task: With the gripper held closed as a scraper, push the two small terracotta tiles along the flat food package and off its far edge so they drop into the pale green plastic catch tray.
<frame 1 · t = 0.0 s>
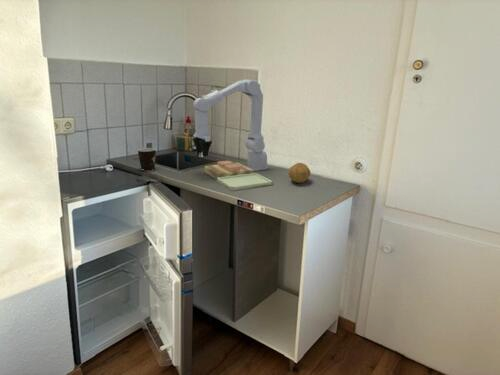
hand: (202, 154, 179), 10 cm above the counter, fingers open, 7 cm apart
tile front: (231, 169, 180), point 3 cm above the counter, touching flat food package
tray: (244, 183, 170), on the counter
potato: (298, 182, 173), on the counter
tile rear: (225, 166, 186), point 3 cm above the counter, touching flat food package
flat food package: (228, 173, 185), on the counter
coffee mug: (145, 170, 190), on the counter
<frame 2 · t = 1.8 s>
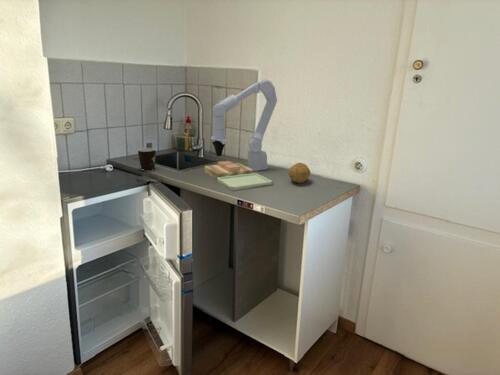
hand: (218, 155, 192), 7 cm above the counter, fingers closed
nothing on the counter moved.
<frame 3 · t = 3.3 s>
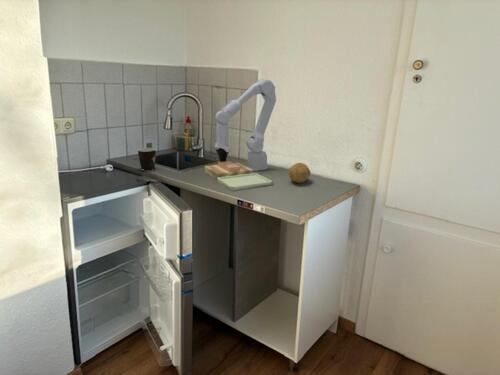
hand: (222, 163, 189), 4 cm above the counter, fingers closed
tile rear: (226, 166, 186), point 3 cm above the counter, touching gripper, flat food package
everything else where it was.
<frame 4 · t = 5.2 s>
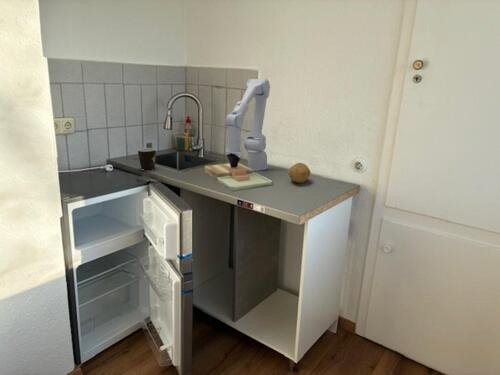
hand: (233, 169, 178), 4 cm above the counter, fingers closed
tile front: (240, 179, 173), point 1 cm above the counter, touching tray
tile rear: (237, 173, 175), point 3 cm above the counter, touching flat food package
everything else where it was.
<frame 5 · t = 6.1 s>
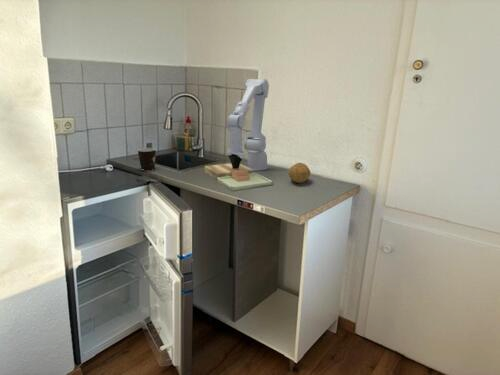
hand: (235, 170, 177), 4 cm above the counter, fingers closed
tile front: (240, 179, 173), point 1 cm above the counter, touching tile rear, tray
tile rear: (239, 174, 174), point 3 cm above the counter, touching gripper, tile front
everything else where it was.
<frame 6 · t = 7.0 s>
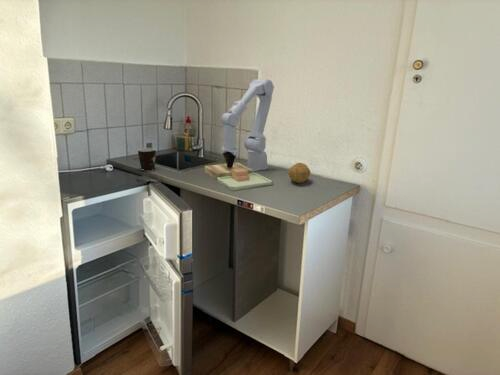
hand: (229, 167, 182), 4 cm above the counter, fingers closed
tile rear: (239, 174, 174), point 3 cm above the counter, touching tile front
everything else where it was.
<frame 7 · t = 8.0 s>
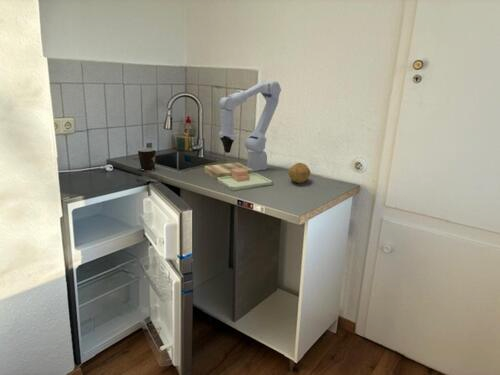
hand: (227, 152, 182), 10 cm above the counter, fingers closed
nothing on the counter moved.
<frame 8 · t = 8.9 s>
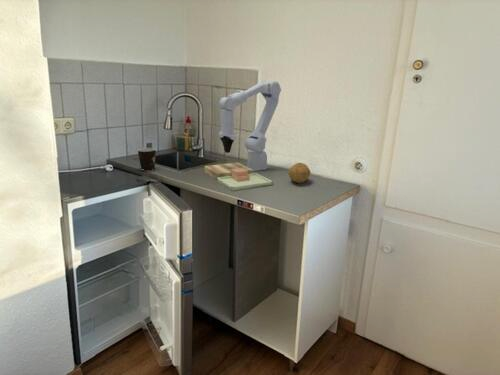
hand: (227, 152, 182), 10 cm above the counter, fingers closed
nothing on the counter moved.
at the end: tile front inside the target area on the tray (3.6 cm from its centre), point 0.8 cm above the tray's base; tile rear inside the target area on the tray (5.0 cm from its centre), point 2.8 cm above the tray's base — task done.
